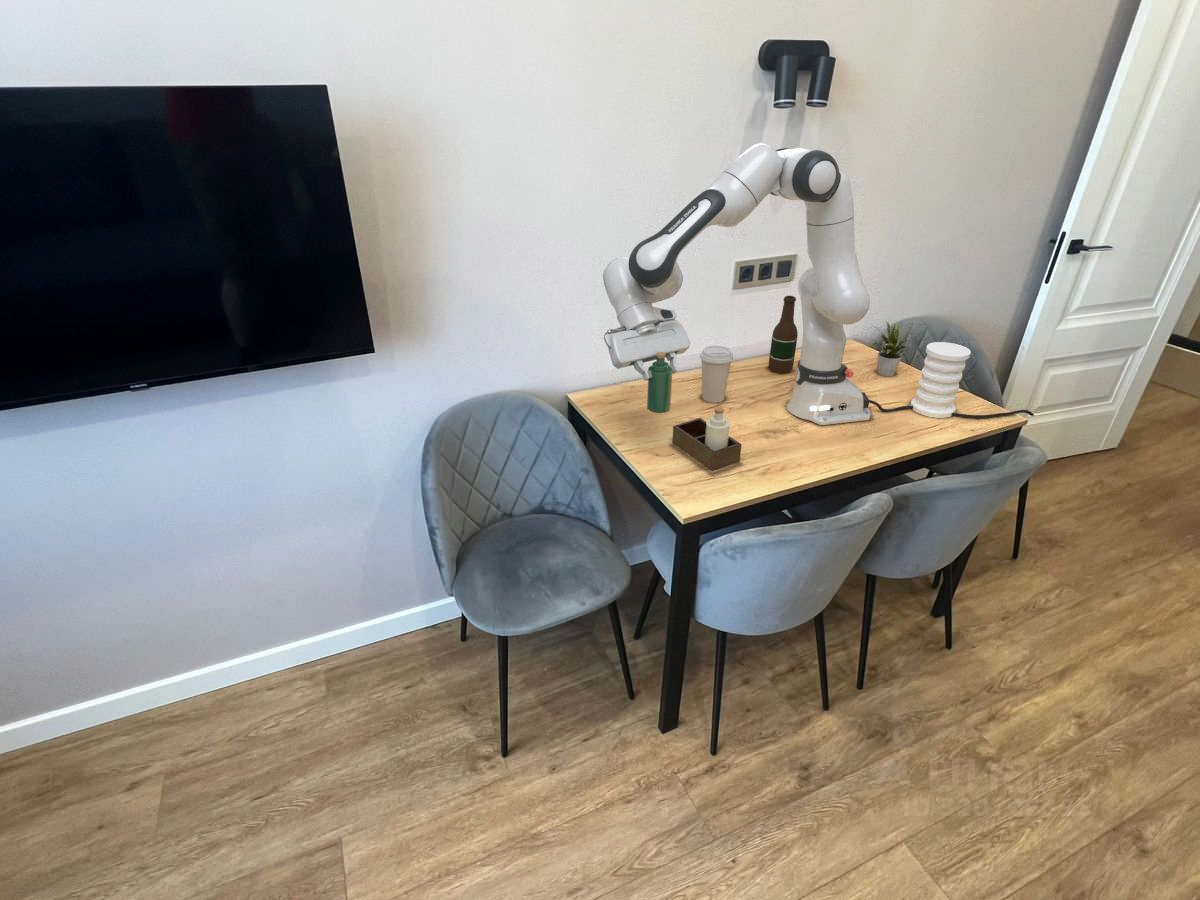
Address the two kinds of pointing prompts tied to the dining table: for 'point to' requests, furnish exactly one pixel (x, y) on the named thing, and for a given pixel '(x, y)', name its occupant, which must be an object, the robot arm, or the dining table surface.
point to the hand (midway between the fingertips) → (661, 376)
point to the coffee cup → (715, 372)
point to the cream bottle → (717, 430)
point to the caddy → (693, 443)
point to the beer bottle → (784, 339)
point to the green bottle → (659, 385)
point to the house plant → (890, 352)
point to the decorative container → (940, 379)
